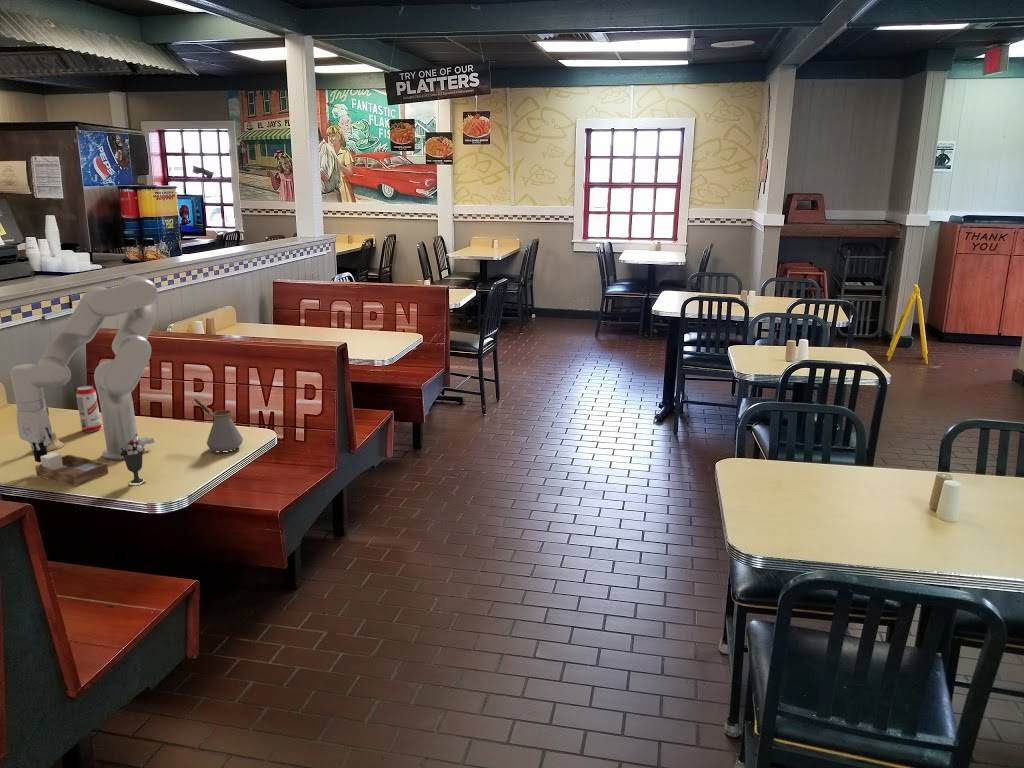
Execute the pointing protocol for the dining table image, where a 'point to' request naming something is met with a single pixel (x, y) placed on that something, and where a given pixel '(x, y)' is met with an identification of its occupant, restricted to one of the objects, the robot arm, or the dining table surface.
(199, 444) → the dining table surface
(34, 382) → the robot arm
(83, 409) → the beer can
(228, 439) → the coffee pot
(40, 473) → the tray
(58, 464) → the block
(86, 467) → the bay
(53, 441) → the hand bell
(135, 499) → the dining table surface
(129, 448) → the sundae
